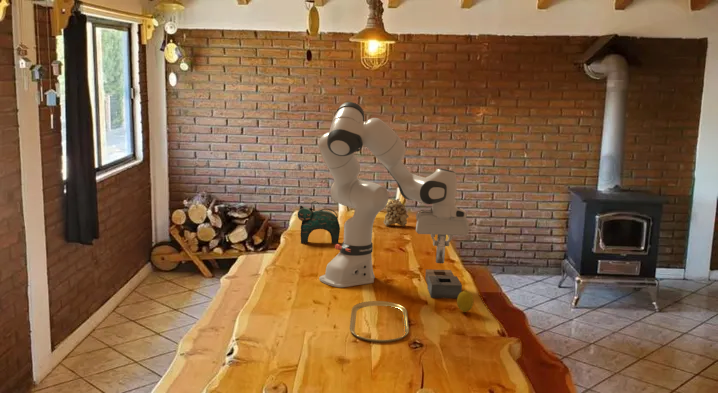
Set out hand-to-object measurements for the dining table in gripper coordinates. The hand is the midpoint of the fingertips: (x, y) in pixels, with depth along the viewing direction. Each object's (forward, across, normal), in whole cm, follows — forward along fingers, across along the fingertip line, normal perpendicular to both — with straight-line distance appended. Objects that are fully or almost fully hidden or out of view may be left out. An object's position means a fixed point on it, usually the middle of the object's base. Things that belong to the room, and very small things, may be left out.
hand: (441, 245), depth 265 cm
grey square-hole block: (+15, 0, -12) cm, 19 cm away
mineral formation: (+14, -8, +96) cm, 98 cm away
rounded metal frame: (+17, -26, -42) cm, 53 cm away
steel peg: (+7, 0, 0) cm, 7 cm away
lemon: (+16, +4, -32) cm, 36 cm away
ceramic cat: (+15, -48, +59) cm, 77 cm away
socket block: (+15, 0, 0) cm, 15 cm away
